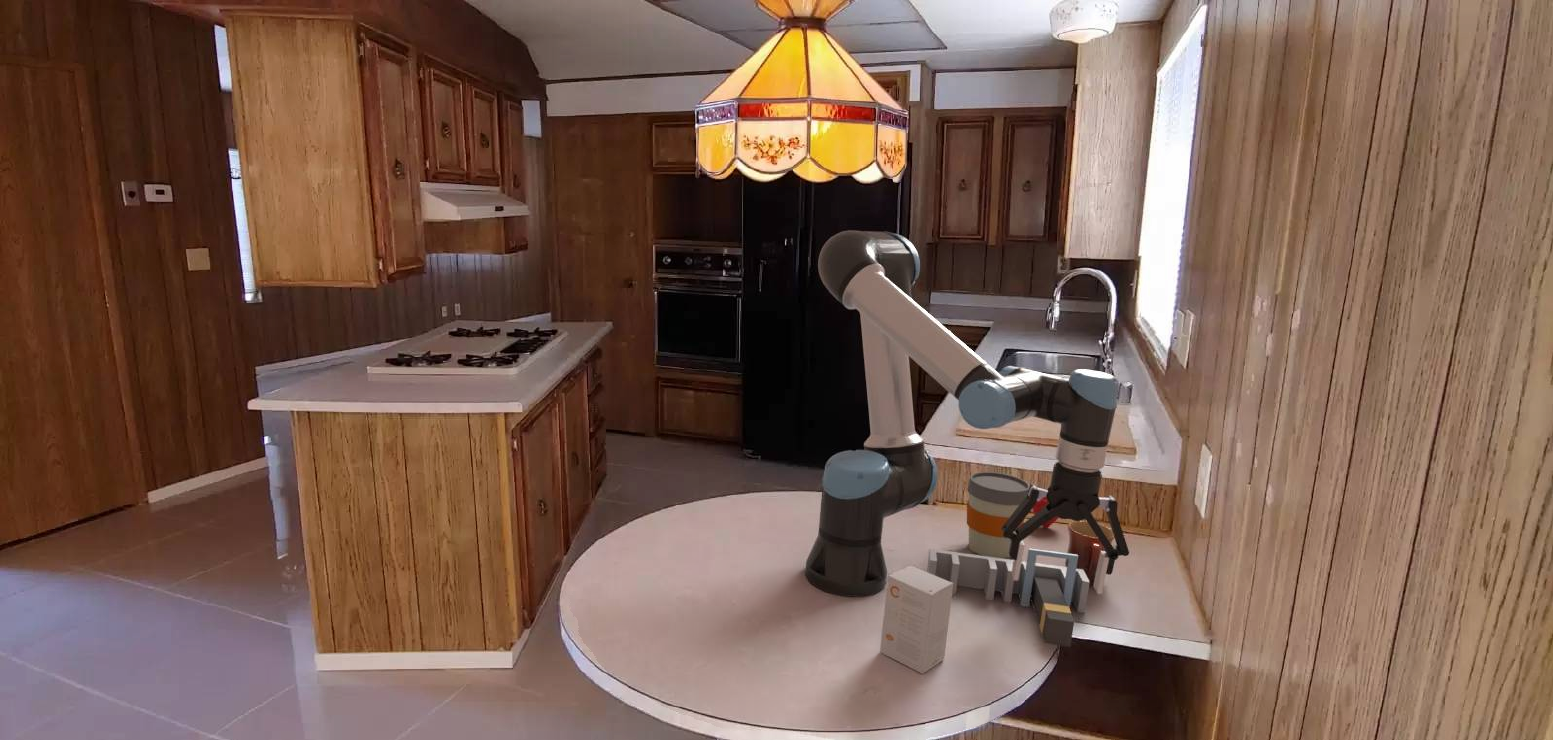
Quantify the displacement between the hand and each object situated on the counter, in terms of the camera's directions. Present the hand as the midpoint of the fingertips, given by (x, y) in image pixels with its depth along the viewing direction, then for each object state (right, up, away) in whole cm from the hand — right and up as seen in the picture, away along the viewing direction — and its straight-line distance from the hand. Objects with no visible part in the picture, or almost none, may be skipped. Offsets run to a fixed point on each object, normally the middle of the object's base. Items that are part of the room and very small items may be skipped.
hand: (1055, 583), depth 135 cm
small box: (-26, -9, -11) cm, 30 cm away
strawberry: (+14, 0, +47) cm, 49 cm away
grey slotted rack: (-6, -5, +12) cm, 14 cm away
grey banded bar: (0, -8, +4) cm, 9 cm away
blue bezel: (+1, -7, +8) cm, 11 cm away
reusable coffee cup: (-2, -2, +33) cm, 33 cm away
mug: (+13, -5, +21) cm, 25 cm away
